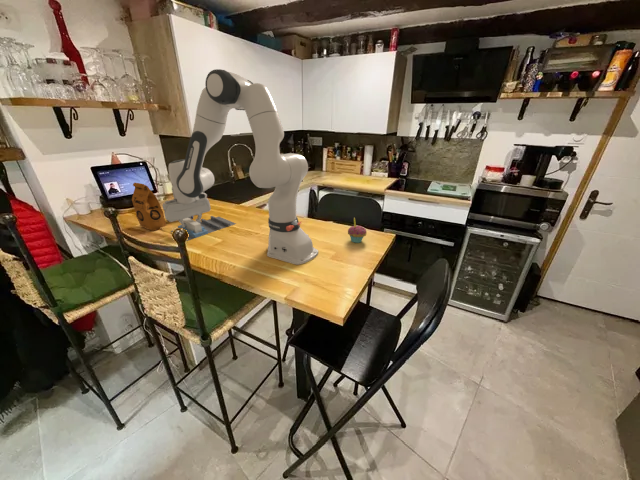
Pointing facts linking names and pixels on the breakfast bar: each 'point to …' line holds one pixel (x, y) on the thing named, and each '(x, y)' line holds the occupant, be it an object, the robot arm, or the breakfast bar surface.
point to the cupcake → (356, 233)
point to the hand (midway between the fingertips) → (191, 224)
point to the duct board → (209, 226)
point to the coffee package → (147, 208)
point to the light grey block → (192, 225)
